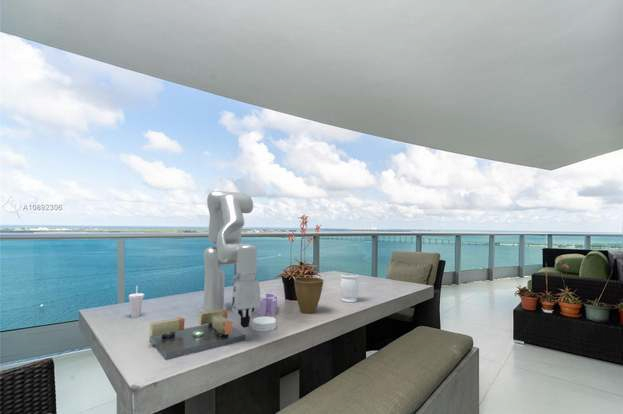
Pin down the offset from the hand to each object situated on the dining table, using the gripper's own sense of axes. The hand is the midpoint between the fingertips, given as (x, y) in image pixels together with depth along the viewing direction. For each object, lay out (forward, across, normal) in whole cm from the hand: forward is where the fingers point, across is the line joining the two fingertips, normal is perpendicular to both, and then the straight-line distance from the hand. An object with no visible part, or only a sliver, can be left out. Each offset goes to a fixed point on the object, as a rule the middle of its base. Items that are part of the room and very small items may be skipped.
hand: (245, 326), depth 118 cm
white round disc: (+5, +13, +6) cm, 15 cm away
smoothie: (+4, -25, +56) cm, 61 cm away
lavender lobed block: (+4, +27, +29) cm, 40 cm away
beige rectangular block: (+2, -6, +15) cm, 17 cm away
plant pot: (+4, +44, +14) cm, 46 cm away
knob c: (+2, -7, +4) cm, 9 cm away
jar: (+4, +78, +18) cm, 80 cm away
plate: (+4, -14, +8) cm, 17 cm away
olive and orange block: (+2, -24, +13) cm, 27 cm away
